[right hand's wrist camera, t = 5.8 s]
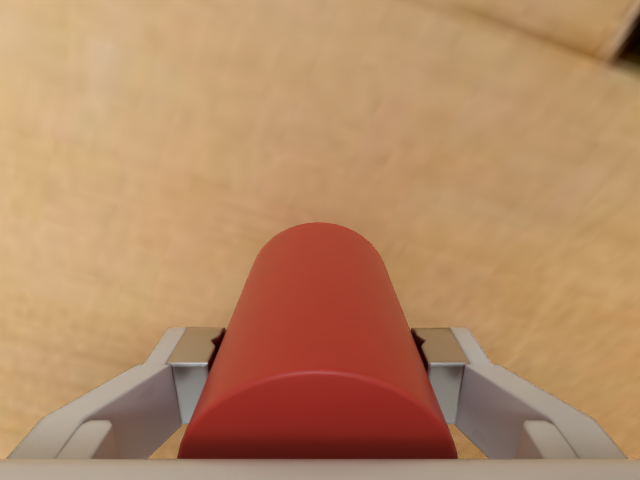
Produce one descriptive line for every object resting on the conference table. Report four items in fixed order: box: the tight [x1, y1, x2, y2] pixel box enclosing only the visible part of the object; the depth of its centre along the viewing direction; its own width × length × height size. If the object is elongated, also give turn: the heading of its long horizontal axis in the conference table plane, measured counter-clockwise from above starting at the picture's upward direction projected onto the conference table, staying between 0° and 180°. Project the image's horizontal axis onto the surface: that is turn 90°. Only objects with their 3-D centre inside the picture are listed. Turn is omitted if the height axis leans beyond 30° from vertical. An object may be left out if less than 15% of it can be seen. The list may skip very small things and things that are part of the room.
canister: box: [177, 223, 458, 459], centre depth 10 cm, size 5×5×8 cm
